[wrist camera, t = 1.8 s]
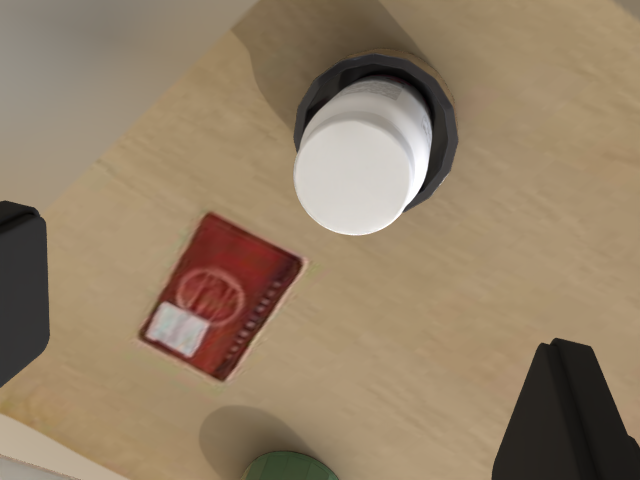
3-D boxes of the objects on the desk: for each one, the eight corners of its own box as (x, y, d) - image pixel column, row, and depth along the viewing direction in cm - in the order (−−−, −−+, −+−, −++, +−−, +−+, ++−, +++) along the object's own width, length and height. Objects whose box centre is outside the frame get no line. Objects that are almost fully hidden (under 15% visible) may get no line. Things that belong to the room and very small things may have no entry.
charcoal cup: (282, 104, 27) (263, 116, 25) (404, 16, 25) (398, 17, 22) (361, 219, 29) (352, 242, 26) (485, 147, 26) (488, 164, 23)
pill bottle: (309, 130, 27) (252, 182, 20) (376, 50, 25) (342, 72, 18) (384, 197, 28) (357, 272, 20) (456, 122, 26) (456, 175, 18)
